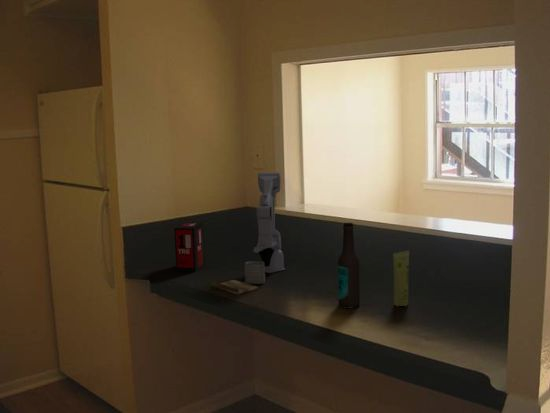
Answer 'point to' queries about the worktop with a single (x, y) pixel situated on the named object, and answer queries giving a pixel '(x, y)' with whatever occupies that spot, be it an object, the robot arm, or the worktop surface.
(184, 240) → the cleaning product box
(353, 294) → the beer bottle
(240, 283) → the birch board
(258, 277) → the medicine box
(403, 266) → the tube
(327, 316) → the worktop surface
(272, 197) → the robot arm
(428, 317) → the worktop surface
